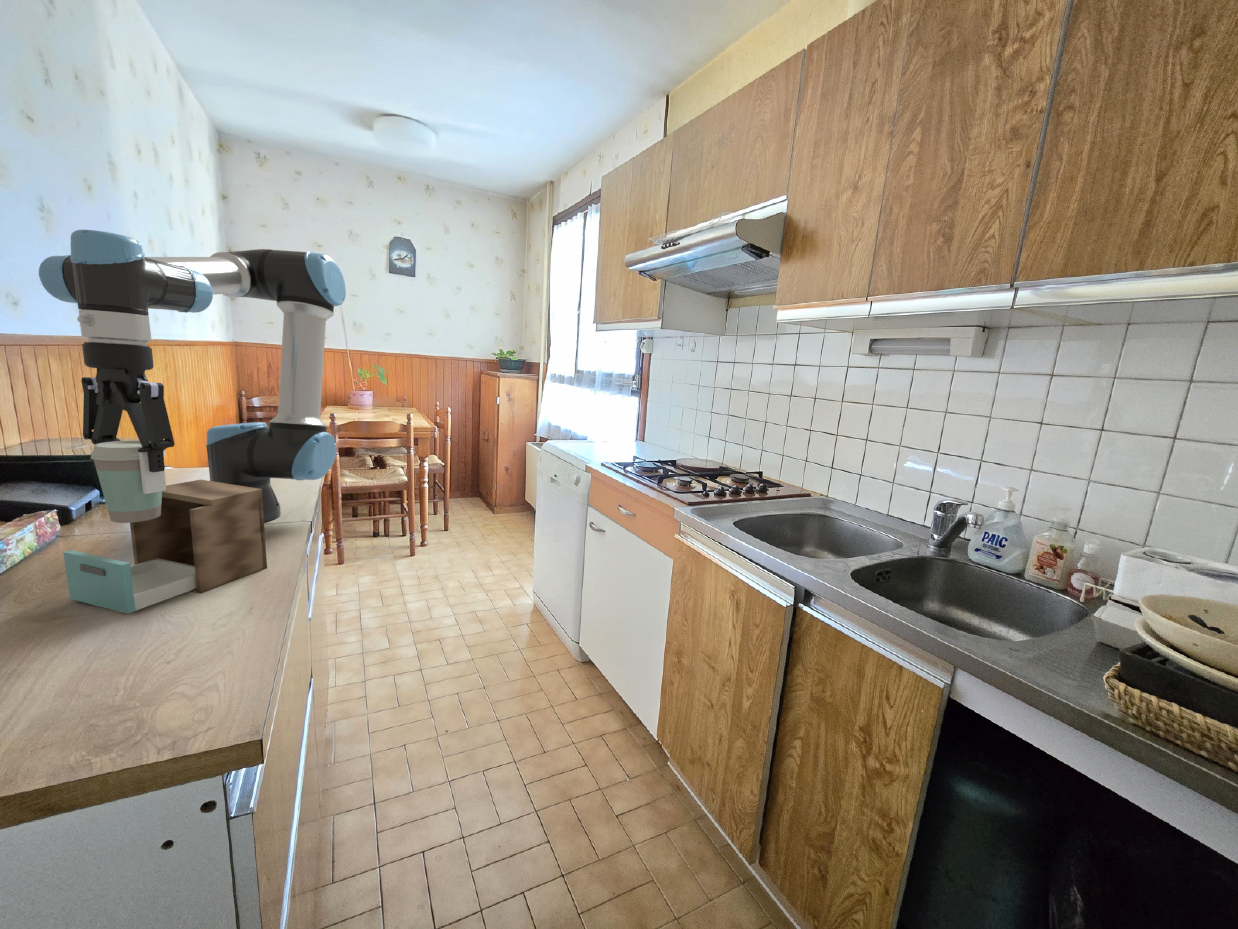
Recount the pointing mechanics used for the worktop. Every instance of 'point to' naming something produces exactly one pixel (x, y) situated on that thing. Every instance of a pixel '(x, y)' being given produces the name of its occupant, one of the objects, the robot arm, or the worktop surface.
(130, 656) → the worktop surface
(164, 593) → the teal drawer
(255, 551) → the cubby
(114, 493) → the coffee cup
